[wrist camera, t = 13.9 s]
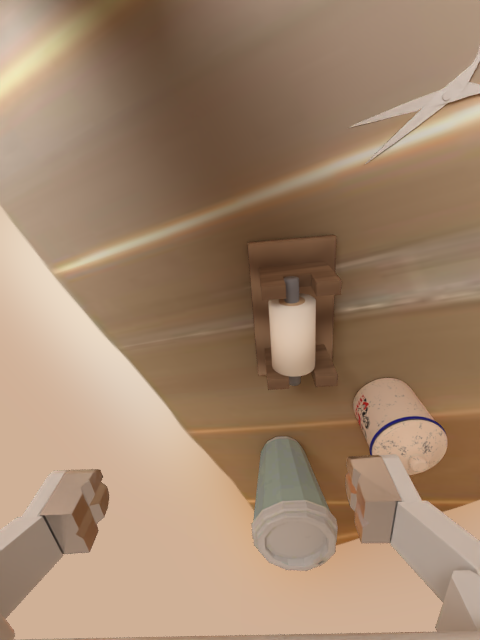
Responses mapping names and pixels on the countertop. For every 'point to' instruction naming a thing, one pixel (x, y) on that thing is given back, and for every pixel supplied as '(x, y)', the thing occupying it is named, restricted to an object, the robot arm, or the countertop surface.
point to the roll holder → (314, 279)
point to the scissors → (429, 103)
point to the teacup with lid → (399, 424)
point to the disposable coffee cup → (291, 509)
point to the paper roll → (293, 332)
